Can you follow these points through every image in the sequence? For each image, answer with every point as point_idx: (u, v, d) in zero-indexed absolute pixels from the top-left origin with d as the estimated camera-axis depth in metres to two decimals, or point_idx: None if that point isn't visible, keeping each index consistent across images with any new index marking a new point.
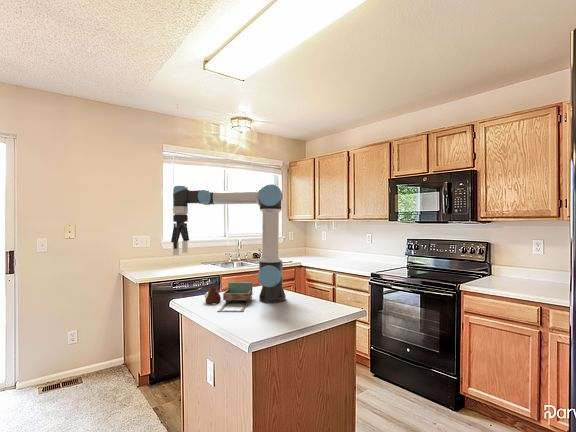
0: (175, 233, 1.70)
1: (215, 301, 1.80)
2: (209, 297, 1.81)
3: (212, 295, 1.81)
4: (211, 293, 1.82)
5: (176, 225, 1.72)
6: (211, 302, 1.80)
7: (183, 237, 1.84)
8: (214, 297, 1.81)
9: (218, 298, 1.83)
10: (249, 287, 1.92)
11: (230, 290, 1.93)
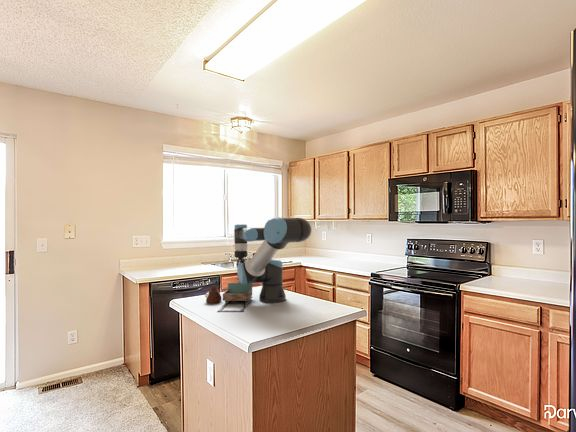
0: None
1: (216, 301, 1.80)
2: (210, 297, 1.81)
3: (213, 295, 1.81)
4: (212, 293, 1.82)
5: None
6: (212, 302, 1.80)
7: None
8: (215, 297, 1.81)
9: (219, 298, 1.83)
10: (249, 287, 1.91)
11: (230, 290, 1.92)
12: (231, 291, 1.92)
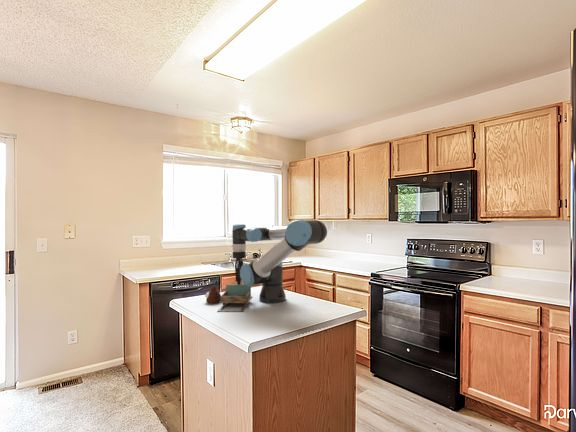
0: (238, 274, 1.85)
1: (216, 301, 1.81)
2: (210, 297, 1.81)
3: (213, 295, 1.81)
4: (212, 293, 1.82)
5: (237, 267, 1.83)
6: (212, 302, 1.80)
7: None
8: (215, 297, 1.81)
9: (219, 298, 1.83)
10: (247, 289, 1.86)
11: (228, 292, 1.86)
12: (229, 293, 1.86)
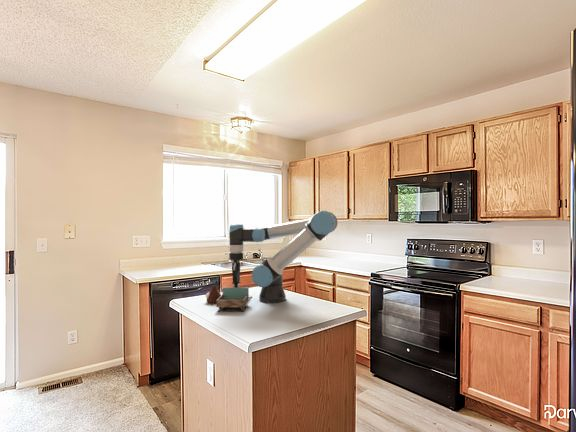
0: (235, 276, 1.76)
1: None
2: (210, 297, 1.81)
3: (213, 295, 1.81)
4: (212, 293, 1.82)
5: (234, 269, 1.75)
6: (212, 302, 1.80)
7: None
8: (215, 297, 1.81)
9: None
10: (245, 293, 1.78)
11: (224, 296, 1.78)
12: (226, 296, 1.78)
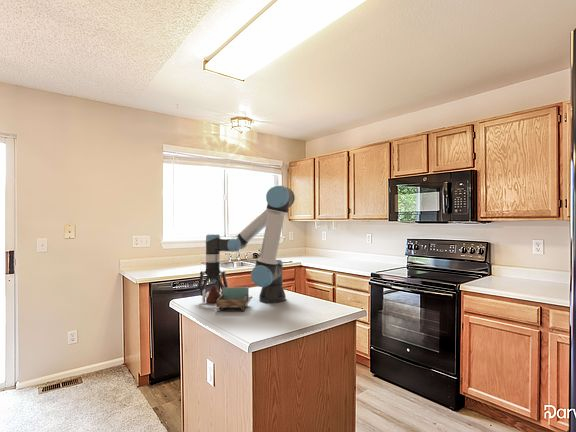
0: None
1: None
2: (210, 297, 1.81)
3: (213, 295, 1.82)
4: (212, 293, 1.82)
5: None
6: (212, 302, 1.80)
7: None
8: (215, 297, 1.81)
9: None
10: (245, 293, 1.78)
11: (224, 296, 1.78)
12: (226, 296, 1.78)
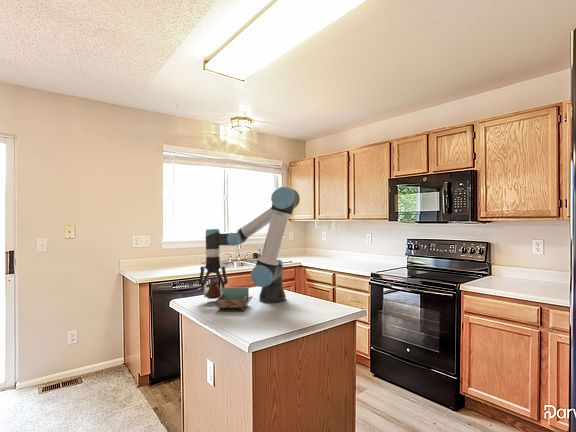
0: None
1: (216, 296, 1.81)
2: (210, 292, 1.81)
3: (213, 290, 1.82)
4: (212, 288, 1.82)
5: None
6: (212, 297, 1.80)
7: None
8: (215, 292, 1.81)
9: (219, 293, 1.83)
10: (245, 293, 1.78)
11: (224, 296, 1.78)
12: (226, 296, 1.78)
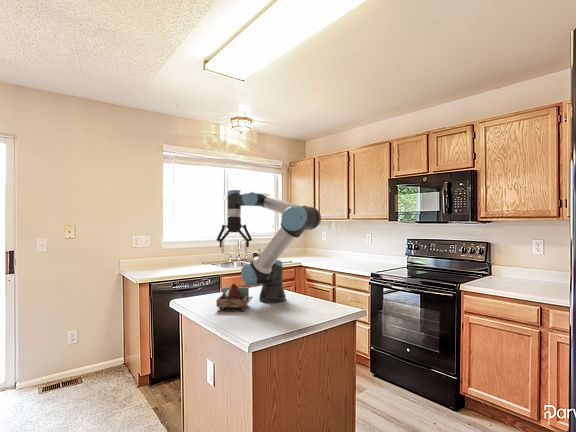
0: None
1: None
2: (230, 296, 1.69)
3: (233, 293, 1.69)
4: (232, 291, 1.70)
5: None
6: None
7: (244, 238, 1.91)
8: (235, 296, 1.69)
9: (240, 297, 1.71)
10: (245, 292, 1.78)
11: (224, 296, 1.78)
12: None
